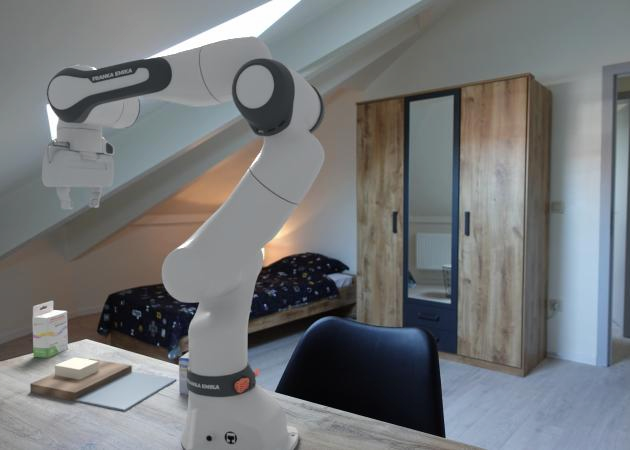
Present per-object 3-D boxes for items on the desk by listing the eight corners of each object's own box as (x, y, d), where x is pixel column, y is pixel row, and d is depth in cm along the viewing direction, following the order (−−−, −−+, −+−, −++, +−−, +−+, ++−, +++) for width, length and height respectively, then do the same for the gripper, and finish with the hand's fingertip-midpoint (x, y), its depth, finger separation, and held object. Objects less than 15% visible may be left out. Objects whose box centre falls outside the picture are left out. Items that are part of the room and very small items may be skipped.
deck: (131, 372, 125) (131, 365, 125) (75, 401, 108) (75, 392, 108) (90, 365, 130) (90, 358, 130) (30, 391, 113) (30, 383, 113)
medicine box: (194, 380, 120) (193, 347, 119) (210, 382, 119) (210, 348, 118) (178, 393, 112) (178, 357, 112) (196, 395, 111) (195, 359, 111)
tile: (99, 370, 121) (98, 361, 121) (79, 379, 115) (79, 369, 115) (75, 366, 124) (74, 357, 123) (55, 375, 118) (54, 365, 118)
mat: (176, 380, 120) (176, 378, 120) (124, 411, 103) (124, 409, 103) (131, 372, 125) (131, 371, 125) (75, 401, 108) (75, 399, 108)
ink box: (47, 358, 135) (45, 307, 134) (32, 357, 136) (30, 306, 135) (69, 348, 144) (67, 300, 143) (55, 347, 145) (53, 299, 144)
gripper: (62, 139, 92) (63, 210, 93) (118, 148, 112) (119, 206, 113) (32, 139, 93) (33, 210, 94) (93, 147, 113) (94, 206, 114)
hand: (81, 208), depth 104 cm, fingers open, 8 cm apart
